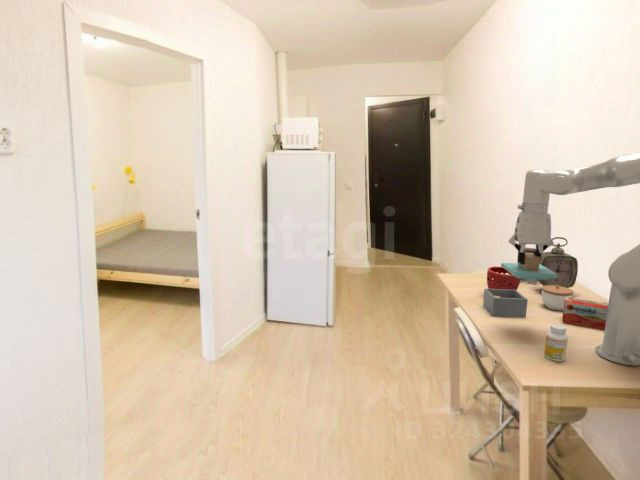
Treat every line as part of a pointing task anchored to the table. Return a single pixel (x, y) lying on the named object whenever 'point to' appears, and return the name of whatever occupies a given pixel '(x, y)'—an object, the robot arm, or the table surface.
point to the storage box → (505, 303)
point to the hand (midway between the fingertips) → (528, 263)
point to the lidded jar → (555, 296)
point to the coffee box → (526, 250)
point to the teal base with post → (529, 268)
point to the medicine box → (585, 313)
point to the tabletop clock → (559, 266)
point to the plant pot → (501, 279)
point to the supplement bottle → (556, 343)
